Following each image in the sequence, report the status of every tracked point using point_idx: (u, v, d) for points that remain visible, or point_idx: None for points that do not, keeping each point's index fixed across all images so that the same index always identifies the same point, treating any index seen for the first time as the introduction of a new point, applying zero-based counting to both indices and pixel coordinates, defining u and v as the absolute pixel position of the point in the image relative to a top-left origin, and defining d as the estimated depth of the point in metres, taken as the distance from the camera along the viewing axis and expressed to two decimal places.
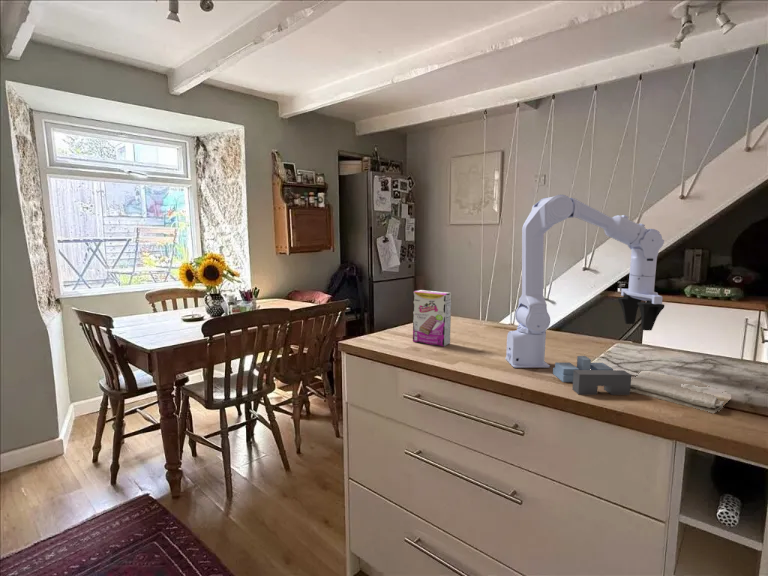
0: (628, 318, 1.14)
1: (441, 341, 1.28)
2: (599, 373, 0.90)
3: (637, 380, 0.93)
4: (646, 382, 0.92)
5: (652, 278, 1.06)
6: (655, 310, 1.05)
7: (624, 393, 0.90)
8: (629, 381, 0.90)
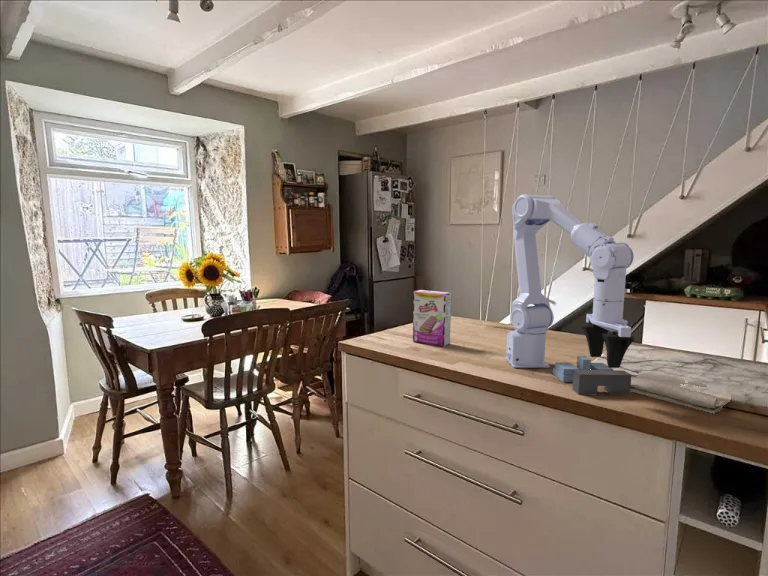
0: (594, 350, 0.94)
1: (441, 341, 1.28)
2: (599, 373, 0.90)
3: (637, 380, 0.93)
4: (646, 382, 0.92)
5: (620, 304, 0.87)
6: (623, 343, 0.86)
7: (624, 393, 0.90)
8: (629, 381, 0.90)
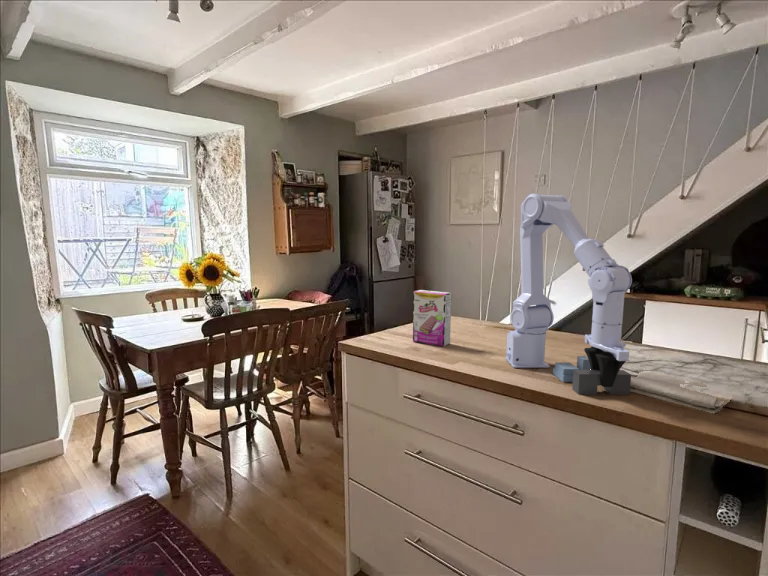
0: None
1: (441, 341, 1.28)
2: (598, 373, 0.91)
3: (637, 380, 0.93)
4: (646, 382, 0.92)
5: (618, 327, 0.87)
6: (616, 364, 0.88)
7: (624, 393, 0.90)
8: (629, 381, 0.90)
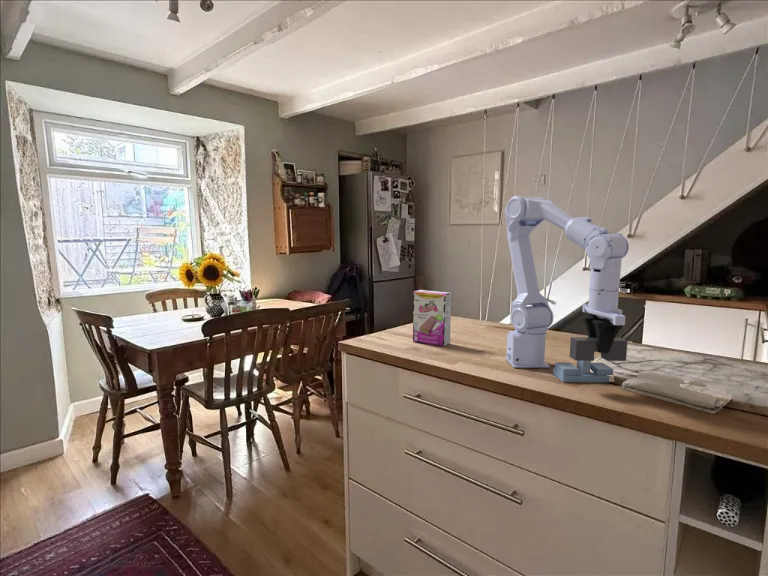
0: None
1: (441, 341, 1.28)
2: (595, 339, 0.92)
3: (637, 380, 0.93)
4: (646, 382, 0.92)
5: (615, 293, 0.89)
6: (612, 329, 0.90)
7: (620, 359, 0.92)
8: (625, 347, 0.91)
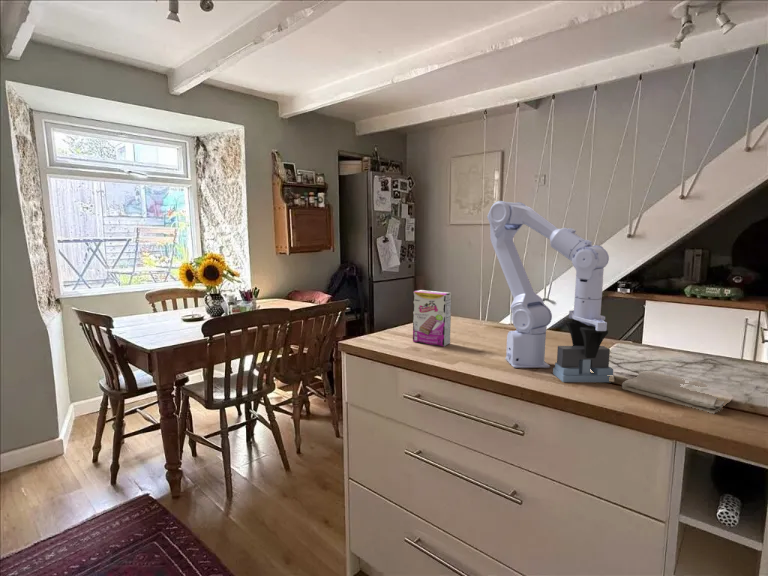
0: (577, 344, 1.03)
1: (441, 341, 1.28)
2: (580, 348, 0.99)
3: (637, 380, 0.93)
4: (646, 382, 0.92)
5: (597, 301, 0.96)
6: (598, 336, 0.96)
7: (603, 366, 0.99)
8: (608, 355, 0.99)
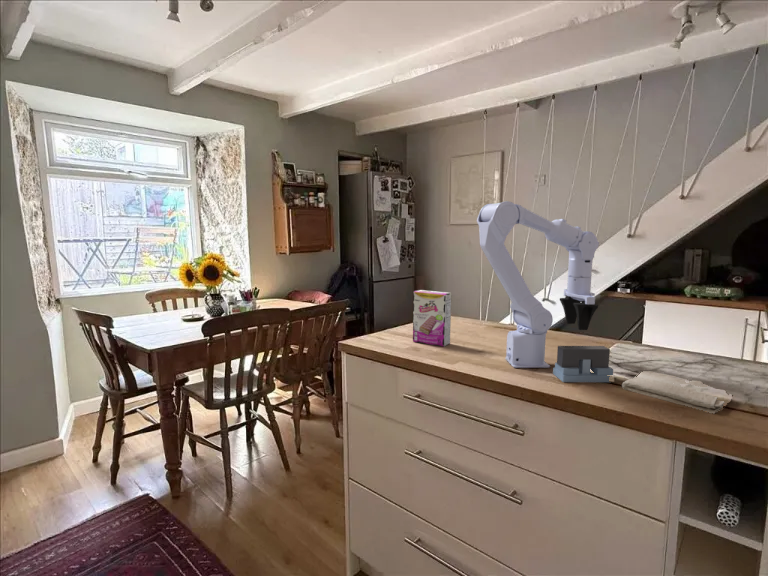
0: (569, 318, 1.17)
1: (441, 341, 1.28)
2: (580, 348, 0.99)
3: (637, 380, 0.93)
4: (646, 382, 0.92)
5: (587, 279, 1.09)
6: (590, 310, 1.08)
7: (603, 366, 0.99)
8: (608, 355, 0.99)
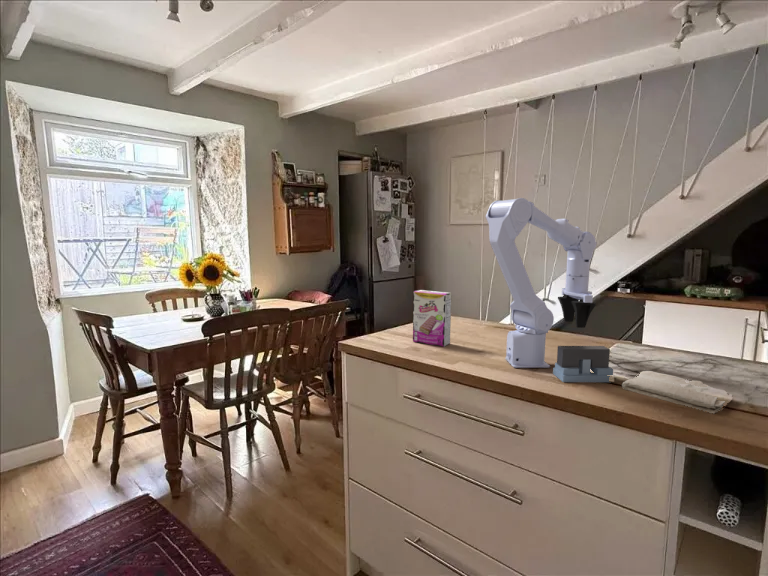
0: (567, 316, 1.20)
1: (441, 341, 1.28)
2: (580, 348, 0.99)
3: (637, 380, 0.93)
4: (646, 382, 0.92)
5: (585, 278, 1.12)
6: (587, 308, 1.11)
7: (603, 366, 0.99)
8: (608, 355, 0.99)
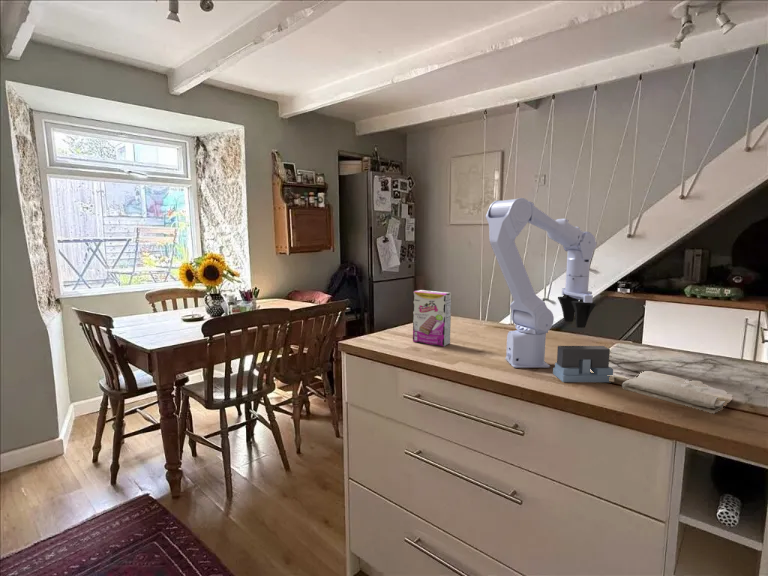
0: (567, 316, 1.20)
1: (441, 341, 1.28)
2: (580, 348, 0.99)
3: (637, 380, 0.93)
4: (646, 382, 0.92)
5: (585, 278, 1.12)
6: (587, 308, 1.11)
7: (603, 366, 0.99)
8: (608, 355, 0.99)
